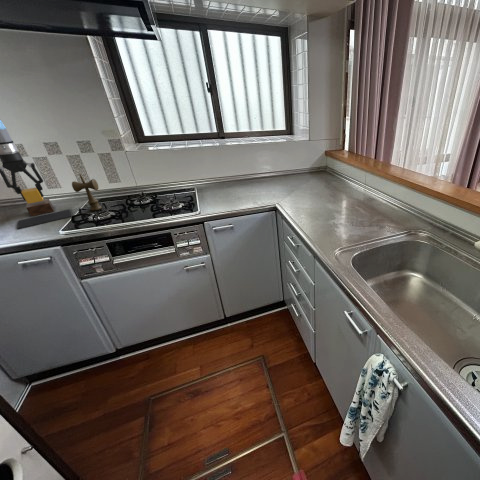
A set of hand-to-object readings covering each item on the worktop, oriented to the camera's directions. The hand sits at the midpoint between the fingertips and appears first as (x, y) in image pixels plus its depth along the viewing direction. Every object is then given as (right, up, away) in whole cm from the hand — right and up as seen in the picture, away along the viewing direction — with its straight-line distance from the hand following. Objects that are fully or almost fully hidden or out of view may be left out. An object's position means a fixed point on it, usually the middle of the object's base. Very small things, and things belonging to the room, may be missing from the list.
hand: (34, 197), depth 141 cm
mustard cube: (0, -1, +1) cm, 2 cm away
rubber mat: (+11, -12, -4) cm, 16 cm away
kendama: (+29, -6, +5) cm, 30 cm away
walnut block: (0, -7, +4) cm, 8 cm away
